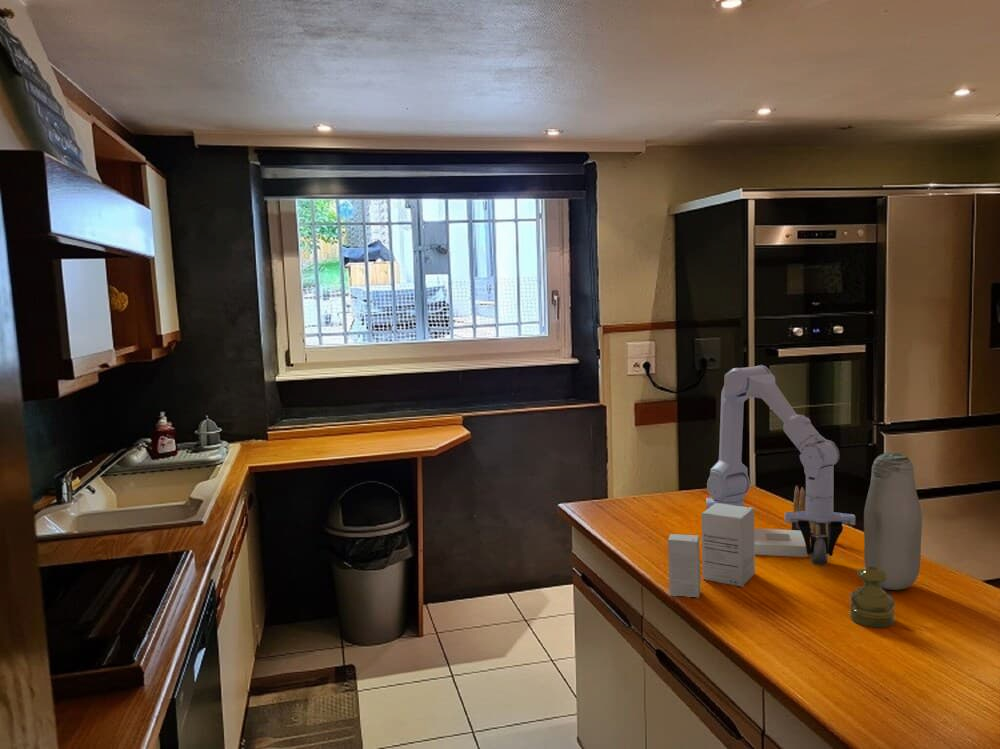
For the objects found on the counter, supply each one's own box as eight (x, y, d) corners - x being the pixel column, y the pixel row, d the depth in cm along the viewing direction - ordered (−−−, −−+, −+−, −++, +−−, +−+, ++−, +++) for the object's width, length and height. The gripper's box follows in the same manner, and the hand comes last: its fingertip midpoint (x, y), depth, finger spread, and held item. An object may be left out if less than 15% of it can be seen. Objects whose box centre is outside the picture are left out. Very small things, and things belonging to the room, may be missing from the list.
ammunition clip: (830, 541, 184) (831, 493, 182) (825, 542, 183) (825, 494, 182) (796, 529, 193) (796, 484, 192) (791, 530, 192) (791, 485, 191)
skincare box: (700, 591, 157) (699, 535, 155) (699, 599, 153) (698, 541, 151) (671, 588, 159) (670, 533, 157) (668, 596, 155) (667, 539, 153)
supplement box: (715, 566, 170) (714, 501, 168) (755, 573, 165) (755, 507, 163) (701, 579, 163) (700, 512, 161) (742, 587, 157) (742, 518, 156)
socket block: (753, 554, 176) (753, 544, 176) (750, 538, 188) (750, 528, 188) (808, 557, 173) (808, 546, 173) (801, 540, 185) (801, 530, 185)
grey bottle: (874, 574, 161) (875, 446, 158) (926, 586, 154) (929, 452, 151) (856, 588, 154) (857, 454, 152) (910, 601, 147) (912, 461, 144)
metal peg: (812, 564, 169) (812, 538, 168) (809, 559, 172) (809, 533, 171) (828, 565, 168) (828, 539, 167) (826, 559, 171) (826, 534, 171)
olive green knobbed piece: (892, 632, 135) (893, 578, 134) (847, 623, 139) (847, 571, 138) (896, 616, 141) (896, 564, 140) (852, 609, 145) (852, 558, 144)
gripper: (786, 498, 166) (787, 558, 168) (858, 500, 163) (857, 561, 164) (783, 490, 173) (783, 547, 175) (852, 492, 169) (851, 550, 171)
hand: (819, 553), depth 170 cm, fingers open, 4 cm apart
